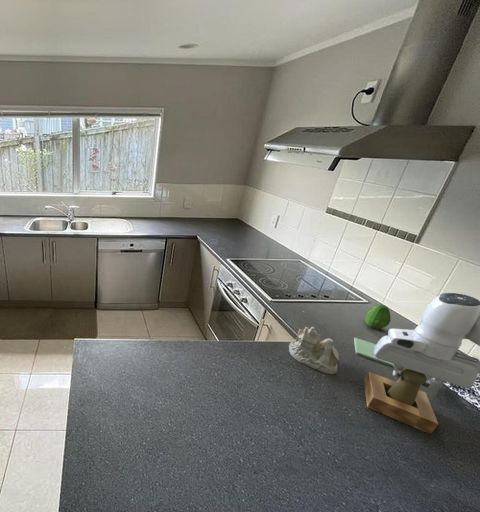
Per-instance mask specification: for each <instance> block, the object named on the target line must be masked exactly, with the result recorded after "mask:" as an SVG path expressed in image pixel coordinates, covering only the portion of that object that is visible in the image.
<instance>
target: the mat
mask: <svg viewBox="0 0 480 512" xmlns="http://www.w3.org/2000/svg"><path fill="white" fill-rule="evenodd" d="M353 343H354V350H355V354H356V355H357V356H361V357H364V358H366V359H369V360H372V361H374V362H378V363H381V364H384V365H387V366H390V367H392V368H394V367H393V364H392V363H390V362H387V361H384V360H381V359H378V358H376V356H375V355H374V348H375V346H376V344H377V343H374V342H370V341H367V340H364V339H361V338H358V337H353Z"/></svg>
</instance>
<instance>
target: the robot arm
mask: <svg viewBox="0 0 480 512" xmlns="http://www.w3.org/2000/svg"><path fill="white" fill-rule="evenodd" d="M463 340H469V341H470V342H471V343H473V344H475V345H477V346H479V347H480V300H479V299H477V298H476V297H474V296H470V295H467V294H464V293H458V292H457V293H455V292H444V293H439V295H437V296H435V298H434V299H433V300H432V301H430V303H429V305H428V306H427V307H426V309H425V310H424V312H423V313H422V315H421V319H420V322H419V324H418V325H417V326H416V327H415V328H414V329H404V328H395V327H393V328H389V329H388V331H387V335H384V336H382V337H381V338H380V339H379V340H378V341H377V343H375V344H376V346H375V348H374V355H375V356H376V358H378V359H381V360H384V361H387V362H390V363H392V364H393V367H392V368H393V371H392V376H393V377H395V378H398V379H399V378H400V377H401V376H402V373H401V371H402V370H400V369H401V368H403V369H404V368H407V369H410V370H413V371H416V372H419V373H422V374H424V375H425V376H428V377H431V378H430V379H427V380H426V382H425V383H424V384H422V385H421V386H422V387H423V388H426V389H429V390H430V389H432V387H433V386H435V385H439V384H441V383H442V382H445V383H446V382H447V383H448V384H452V385H454V386H457V387H459V388H460V387H461V388H464V389H469V388H472V387H473V386H474V384H475V383H476V380H477V378H478V375H479V373H480V358H477V357H473V356H469V355H467V354H463V353H461V352H458V350H459V349H460V347H461V346H462V344H463Z"/></svg>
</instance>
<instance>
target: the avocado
mask: <svg viewBox="0 0 480 512" xmlns="http://www.w3.org/2000/svg"><path fill="white" fill-rule="evenodd" d="M391 321H392V319H391V312H390V309H389V308H388V306H386V305H384V304H377V305H375V306H374V307H372V308H371V309H370V310H369V311H368V312H367V313H366V315H365V323H366V325H368V327H370V328H373V329H384V328H386V327H388V326H389V324H390V323H391Z"/></svg>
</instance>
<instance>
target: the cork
mask: <svg viewBox="0 0 480 512" xmlns="http://www.w3.org/2000/svg"><path fill="white" fill-rule="evenodd" d="M400 371H401V373H402V376H400V378H398V379H397V380H396V383H395V384H394V385H393V386H392V387H391V388H390V389H389V390H388V391H387V393H388V395H389V396H390V398H392V399H395V400H397V401H400V402H402V403H405V404H407V405H410V406H413V405H414V402H415V400H416V397H417V394H418V391H419V390H420V388H421V386H422V384H424V383H425V382H426V380H428V379H427V375H425V374H422V373H419V372H416V371H413V370H410V369H407V368H404V367H403V369H401V370H400Z"/></svg>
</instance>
